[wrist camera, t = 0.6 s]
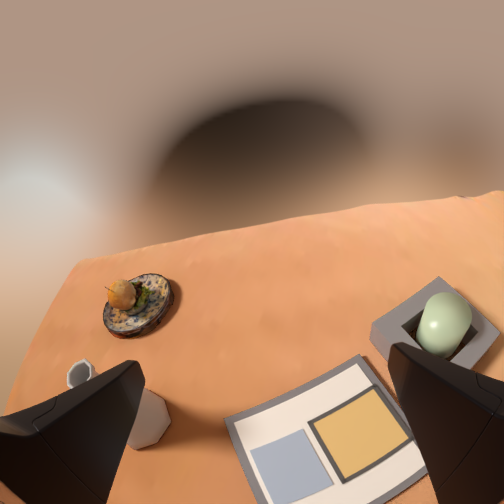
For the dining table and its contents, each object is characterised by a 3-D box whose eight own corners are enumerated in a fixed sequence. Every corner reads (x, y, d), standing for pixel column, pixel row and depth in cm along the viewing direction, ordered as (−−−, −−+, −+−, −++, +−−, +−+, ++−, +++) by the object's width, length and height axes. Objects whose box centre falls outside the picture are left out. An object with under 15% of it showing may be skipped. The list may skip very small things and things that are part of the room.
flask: (107, 414, 24) (46, 369, 18) (149, 380, 27) (97, 327, 21) (134, 461, 19) (62, 427, 13) (183, 423, 22) (123, 378, 16)
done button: (466, 340, 19) (480, 315, 16) (435, 369, 18) (449, 346, 16) (437, 311, 23) (446, 284, 20) (406, 335, 22) (414, 309, 20)
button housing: (489, 349, 18) (500, 332, 16) (426, 411, 17) (437, 400, 15) (433, 294, 26) (438, 276, 24) (369, 339, 25) (372, 322, 23)
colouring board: (437, 463, 12) (440, 462, 12) (281, 547, 10) (279, 548, 10) (358, 356, 24) (359, 352, 23) (225, 420, 22) (222, 418, 21)
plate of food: (189, 289, 38) (168, 249, 34) (139, 353, 31) (106, 315, 26) (140, 275, 44) (120, 241, 40) (96, 324, 37) (69, 291, 32)
